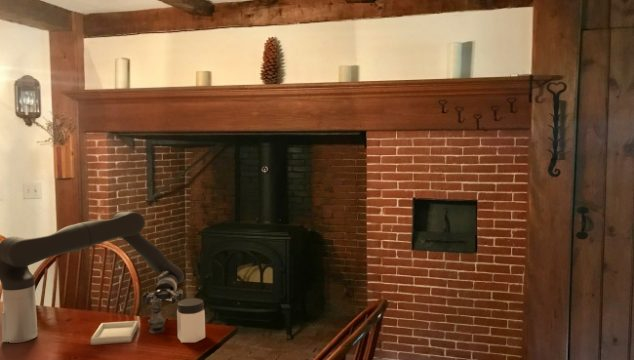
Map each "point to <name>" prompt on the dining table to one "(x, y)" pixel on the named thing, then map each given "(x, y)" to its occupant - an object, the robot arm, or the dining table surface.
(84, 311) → the dining table surface
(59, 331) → the dining table surface
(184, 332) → the jar
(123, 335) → the tray
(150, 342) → the dining table surface
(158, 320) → the salt shaker
